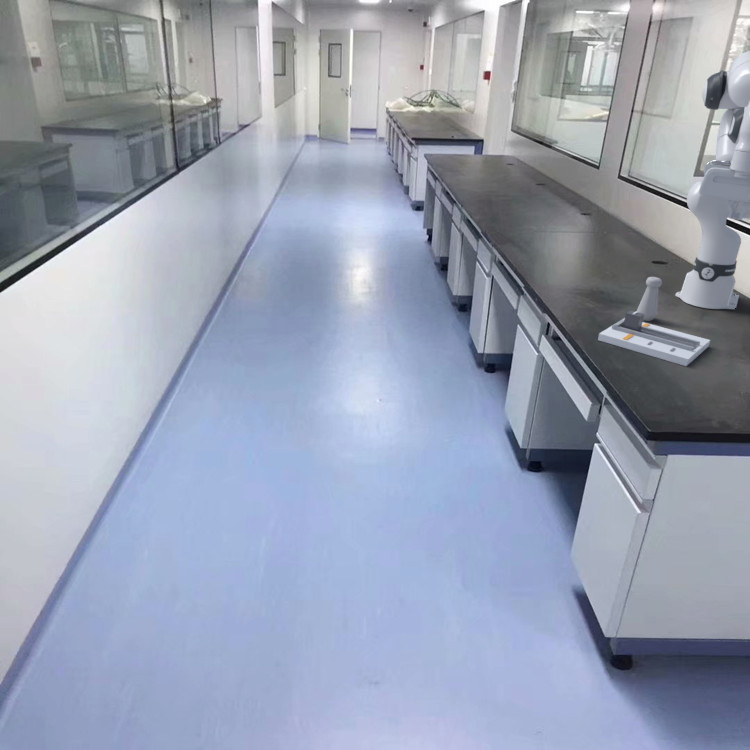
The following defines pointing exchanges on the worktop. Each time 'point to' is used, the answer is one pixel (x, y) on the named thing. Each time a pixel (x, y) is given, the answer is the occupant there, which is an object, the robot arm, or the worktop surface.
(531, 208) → the worktop surface
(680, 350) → the console
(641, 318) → the fader tab
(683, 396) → the worktop surface
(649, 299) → the salt shaker
